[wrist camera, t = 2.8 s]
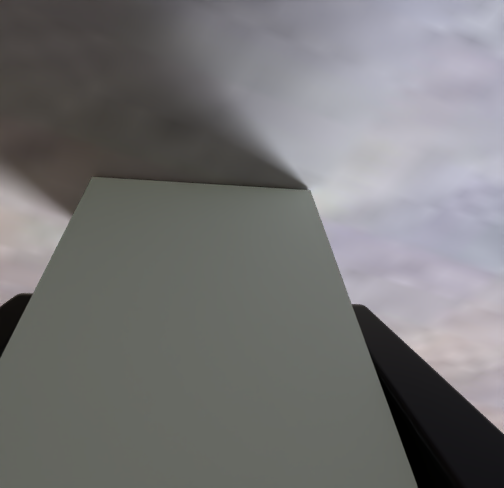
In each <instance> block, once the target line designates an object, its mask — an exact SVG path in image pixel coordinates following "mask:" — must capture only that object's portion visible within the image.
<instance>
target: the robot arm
mask: <svg viewBox="0 0 504 488" xmlns="http://www.w3.org/2000/svg"><path fill="white" fill-rule="evenodd" d="M32 295H33V294H31V293H21V294H18V295H16V296H14V297H13V298H11V299H10V300H9V301H7V302H6V303H4V304H3V305H2V306H0V358H1V356H2V354H3V352H4V350H5V348H6V346H7V344H8V342H9V340H10V338H11V336H12V334H13V332H14V330H15V328H16V326H17V324H18V322H19V320H20V318H21V316H22V314H23V312H24V310H25V309H26V307H27V305H28V303H29V301H30V299H31V297H32ZM352 307H353V310H354V312H355V315H356V318H357V321H358V323H359V326H360V329H361V332H362V334H363V337H364V340H365V343H366V345H367V348H368V351H369V354H370V357H371V359H372V362H373V365H374V368H375V370H376V373H377V376H378V379H379V381H380V384H381V387H382V390H383V392H384V395H385V398H386V401H387V403H388V406H389V409H390V412H391V414H392V417H393V420H394V423H395V426H396V428H397V431H398V434H399V437H400V439H401V442H402V445H403V448H404V450H405V453H406V456H407V459H408V461H409V464H410V467H411V470H412V472H413V475H414V478H415V481H416V483H417V486H418V488H504V434H503V433H502V432H501V431H500V430H499V429H498V428H497V427H496V426H494V425H493V424H492V423H491V422H490V421H489V420H488V419H487V418H486V417H485V416H484V415H483V414H481V413H480V412H479V411H478V410H477V409H476V408H475V407H474V406H473V405H472V404H471V403H470V402H468V401H467V400H466V399H465V398H464V397H463V396H462V395H461V394H460V393H459V392H458V391H457V390H456V389H454V388H453V387H452V386H451V385H450V384H449V383H448V382H447V381H446V380H445V379H444V378H443V377H441V376H440V375H439V374H438V373H437V372H436V371H435V370H434V369H433V368H432V367H431V366H430V365H428V364H427V363H426V362H425V361H424V360H423V359H422V358H421V357H420V356H419V355H418V354H417V353H415V352H414V351H413V350H412V349H411V348H410V347H409V346H408V345H407V344H406V343H405V342H404V341H403V340H401V339H400V338H399V337H398V336H397V335H396V334H395V333H394V332H393V331H392V330H391V329H390V328H388V327H387V326H386V325H385V324H384V323H383V322H382V321H381V320H380V319H379V318H378V317H377V316H375V315H374V314H373V313H372V312H371V311H370V310H369V309H368V308H367V307H365V306H364V305H360V304H352Z"/></svg>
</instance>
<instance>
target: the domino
mask: <svg viewBox="0 0 504 488" xmlns="http://www.w3.org/2000/svg"><path fill="white" fill-rule="evenodd" d="M0 488H418V486H417V483H416V481H415V478H414V475H413V472H412V470H411V467H410V464H409V461H408V459H407V456H406V453H405V450H404V448H403V445H402V442H401V439H400V437H399V434H398V431H397V428H396V426H395V423H394V420H393V417H392V414H391V412H390V409H389V406H388V403H387V401H386V398H385V395H384V392H383V390H382V387H381V384H380V381H379V379H378V376H377V373H376V370H375V368H374V365H373V362H372V359H371V357H370V354H369V351H368V348H367V345H366V343H365V340H364V337H363V334H362V332H361V329H360V326H359V323H358V321H357V318H356V315H355V312H354V310H353V307H352V304H351V301H350V299H349V296H348V293H347V290H346V288H345V285H344V282H343V279H342V276H341V274H340V271H339V268H338V265H337V263H336V260H335V257H334V254H333V252H332V249H331V246H330V243H329V241H328V238H327V235H326V232H325V230H324V227H323V224H322V221H321V219H320V216H319V213H318V210H317V207H316V205H315V202H314V199H313V196H312V194H311V191H310V190H299V189H282V188H266V187H250V186H233V185H217V184H201V183H185V182H168V181H152V180H136V179H119V178H103V177H92V178H91V180H90V182H89V184H88V186H87V188H86V190H85V192H84V194H83V196H82V198H81V200H80V202H79V204H78V206H77V208H76V210H75V212H74V214H73V216H72V218H71V220H70V222H69V224H68V226H67V228H66V230H65V232H64V234H63V236H62V237H61V239H60V241H59V243H58V245H57V247H56V249H55V251H54V253H53V255H52V257H51V259H50V261H49V263H48V265H47V267H46V269H45V271H44V273H43V275H42V277H41V279H40V281H39V283H38V285H37V287H36V289H35V291H34V293H33V295H32V297H31V299H30V301H29V303H28V305H27V307H26V309H25V310H24V312H23V314H22V316H21V318H20V320H19V322H18V324H17V326H16V328H15V330H14V332H13V334H12V336H11V338H10V340H9V342H8V344H7V346H6V348H5V350H4V352H3V354H2V356H1V358H0Z"/></svg>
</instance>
